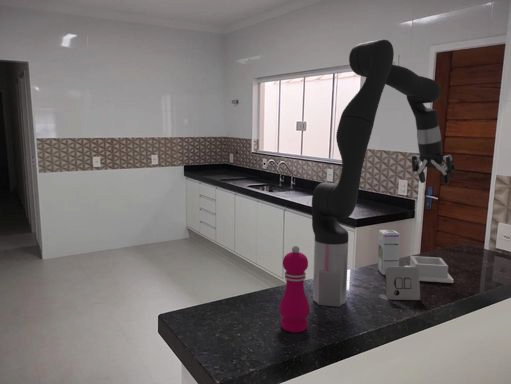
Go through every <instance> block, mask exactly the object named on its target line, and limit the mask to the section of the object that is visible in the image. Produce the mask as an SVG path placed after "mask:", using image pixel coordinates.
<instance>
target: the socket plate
mask: <svg viewBox="0 0 511 384" xmlns="http://www.w3.org/2000/svg"><path fill="white" fill-rule="evenodd" d="M409 257H410V260H409V265H404V267H417V268H418V269H419V282H431V283H432V282H433V283H434V282H437V283H445V284H447V283H448V284H449V283H450V284H454V278H453V277H452V276H451V274H449V265H448V264H447V263H446V262H445V261H444V259H443V258H441V257H434V256H416V255H410V256H409Z"/></svg>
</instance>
